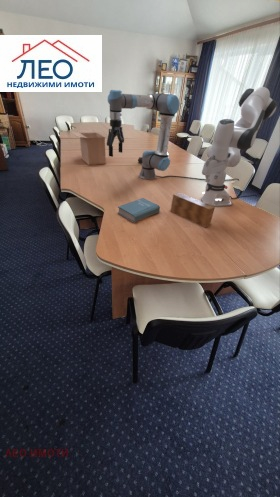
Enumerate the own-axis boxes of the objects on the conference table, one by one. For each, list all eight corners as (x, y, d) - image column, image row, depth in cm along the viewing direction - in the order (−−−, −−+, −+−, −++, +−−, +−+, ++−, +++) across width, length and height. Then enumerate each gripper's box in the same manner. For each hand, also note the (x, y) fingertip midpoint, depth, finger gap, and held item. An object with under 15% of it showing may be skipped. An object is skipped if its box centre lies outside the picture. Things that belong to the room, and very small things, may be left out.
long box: (170, 211, 152) (173, 194, 145) (175, 208, 156) (178, 192, 148) (204, 227, 137) (209, 209, 130) (210, 224, 141) (215, 206, 133)
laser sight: (157, 166, 235) (158, 156, 229) (137, 164, 238) (137, 154, 232) (158, 164, 242) (159, 154, 236) (138, 161, 245) (139, 152, 239)
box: (116, 165, 229) (116, 136, 213) (83, 168, 214) (80, 137, 198) (102, 154, 259) (101, 128, 243) (71, 156, 244) (68, 129, 228)
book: (142, 204, 158) (143, 197, 155) (159, 212, 149) (160, 205, 146) (118, 213, 145) (118, 206, 142) (134, 223, 136) (135, 216, 133)
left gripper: (110, 121, 131) (111, 159, 144) (129, 118, 150) (128, 151, 163) (100, 120, 134) (101, 157, 146) (119, 117, 152) (119, 150, 165)
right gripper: (213, 158, 109) (206, 185, 117) (232, 153, 121) (225, 178, 129) (202, 155, 112) (196, 182, 121) (222, 151, 124) (215, 175, 133)
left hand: (115, 154), depth 154 cm, fingers open, 13 cm apart
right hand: (211, 180), depth 125 cm, fingers open, 8 cm apart
